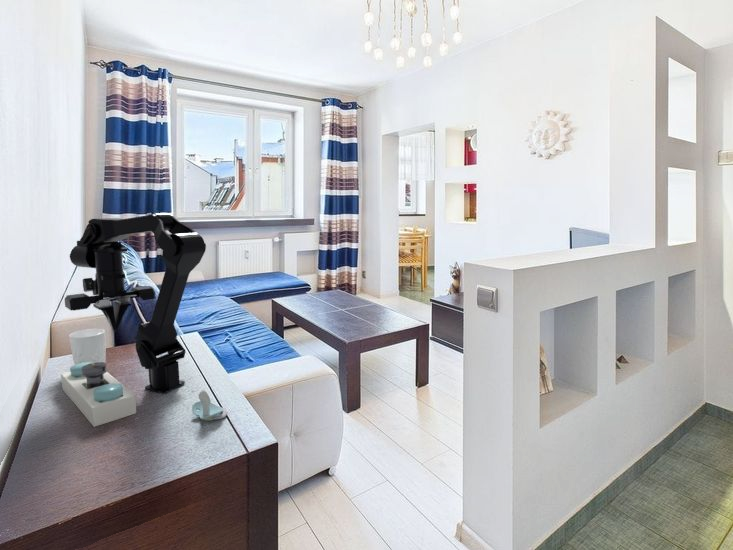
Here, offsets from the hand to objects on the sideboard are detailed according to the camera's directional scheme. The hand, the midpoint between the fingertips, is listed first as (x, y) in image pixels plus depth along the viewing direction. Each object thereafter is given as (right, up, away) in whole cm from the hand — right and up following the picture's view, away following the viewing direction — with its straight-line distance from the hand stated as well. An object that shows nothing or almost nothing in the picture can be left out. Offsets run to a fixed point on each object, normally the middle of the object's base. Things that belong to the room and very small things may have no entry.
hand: (115, 330), depth 106 cm
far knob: (-4, -12, -6) cm, 14 cm away
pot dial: (+3, -11, -12) cm, 17 cm away
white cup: (-10, -11, +6) cm, 16 cm away
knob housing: (+3, -14, -12) cm, 19 cm away
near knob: (+10, -14, -18) cm, 25 cm away
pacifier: (+31, -16, -18) cm, 39 cm away
